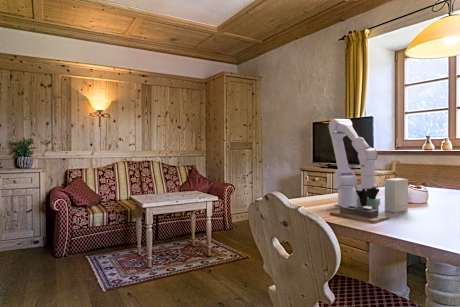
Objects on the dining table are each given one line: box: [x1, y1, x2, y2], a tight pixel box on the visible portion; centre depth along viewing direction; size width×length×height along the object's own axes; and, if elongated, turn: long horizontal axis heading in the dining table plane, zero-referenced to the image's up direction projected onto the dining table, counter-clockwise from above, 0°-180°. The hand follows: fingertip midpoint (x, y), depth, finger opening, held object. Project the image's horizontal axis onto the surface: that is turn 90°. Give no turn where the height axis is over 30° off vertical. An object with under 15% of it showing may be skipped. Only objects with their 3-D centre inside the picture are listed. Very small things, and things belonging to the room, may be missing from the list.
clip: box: [356, 198, 380, 215], centre depth 141 cm, size 2×9×6 cm, turn 37°
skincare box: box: [384, 177, 409, 214], centre depth 142 cm, size 8×6×15 cm
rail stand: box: [329, 205, 390, 224], centre depth 133 cm, size 12×20×4 cm, turn 37°
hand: (367, 205), depth 141 cm, fingers open, 6 cm apart
